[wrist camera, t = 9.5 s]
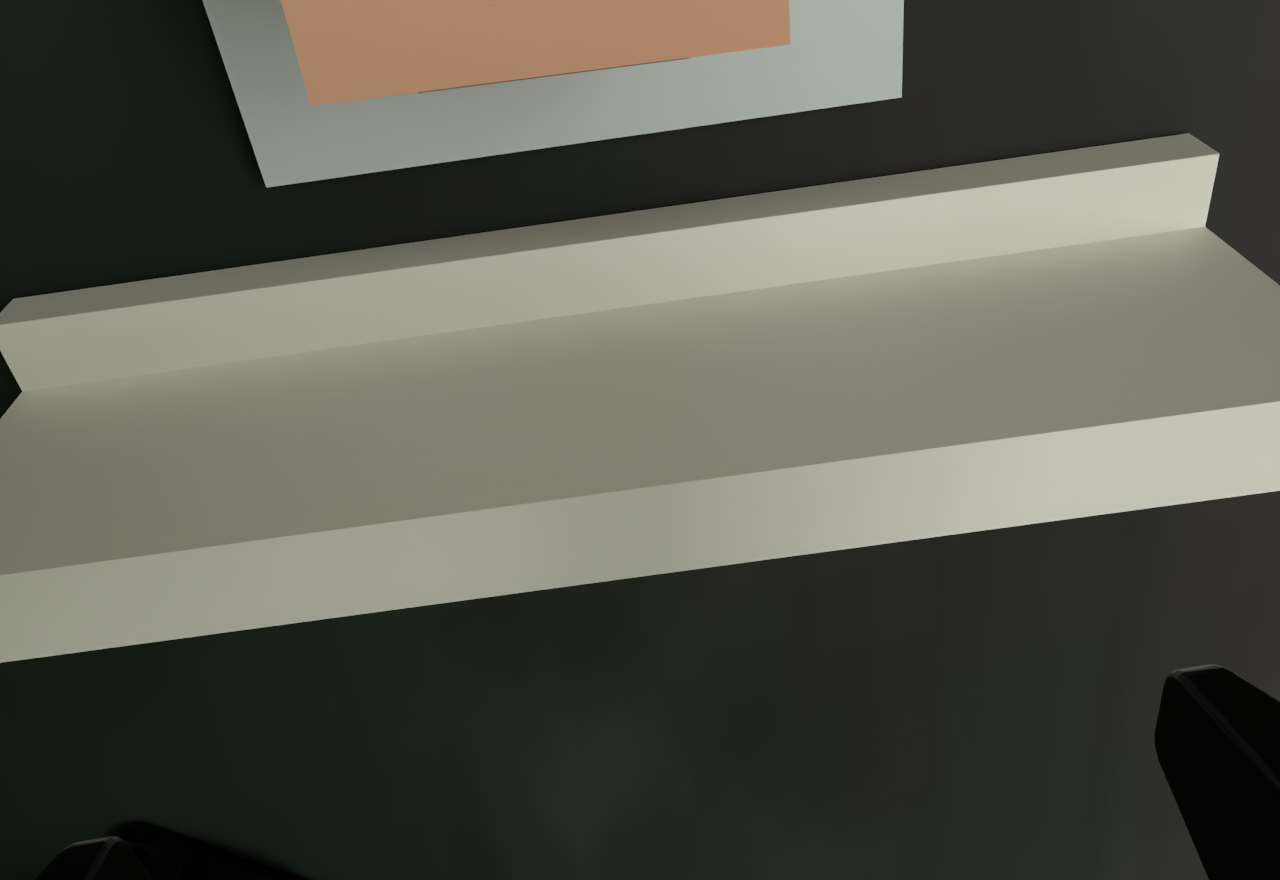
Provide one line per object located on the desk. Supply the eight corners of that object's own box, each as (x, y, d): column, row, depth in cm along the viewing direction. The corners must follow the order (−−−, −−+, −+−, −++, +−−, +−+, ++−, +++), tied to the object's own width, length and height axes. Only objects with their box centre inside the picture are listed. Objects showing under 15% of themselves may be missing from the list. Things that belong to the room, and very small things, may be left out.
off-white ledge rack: (1151, 341, 20) (1347, 548, 15) (109, 484, 20) (-37, 733, 15) (1188, 132, 18) (1435, 295, 13) (13, 298, 18) (-195, 520, 13)
